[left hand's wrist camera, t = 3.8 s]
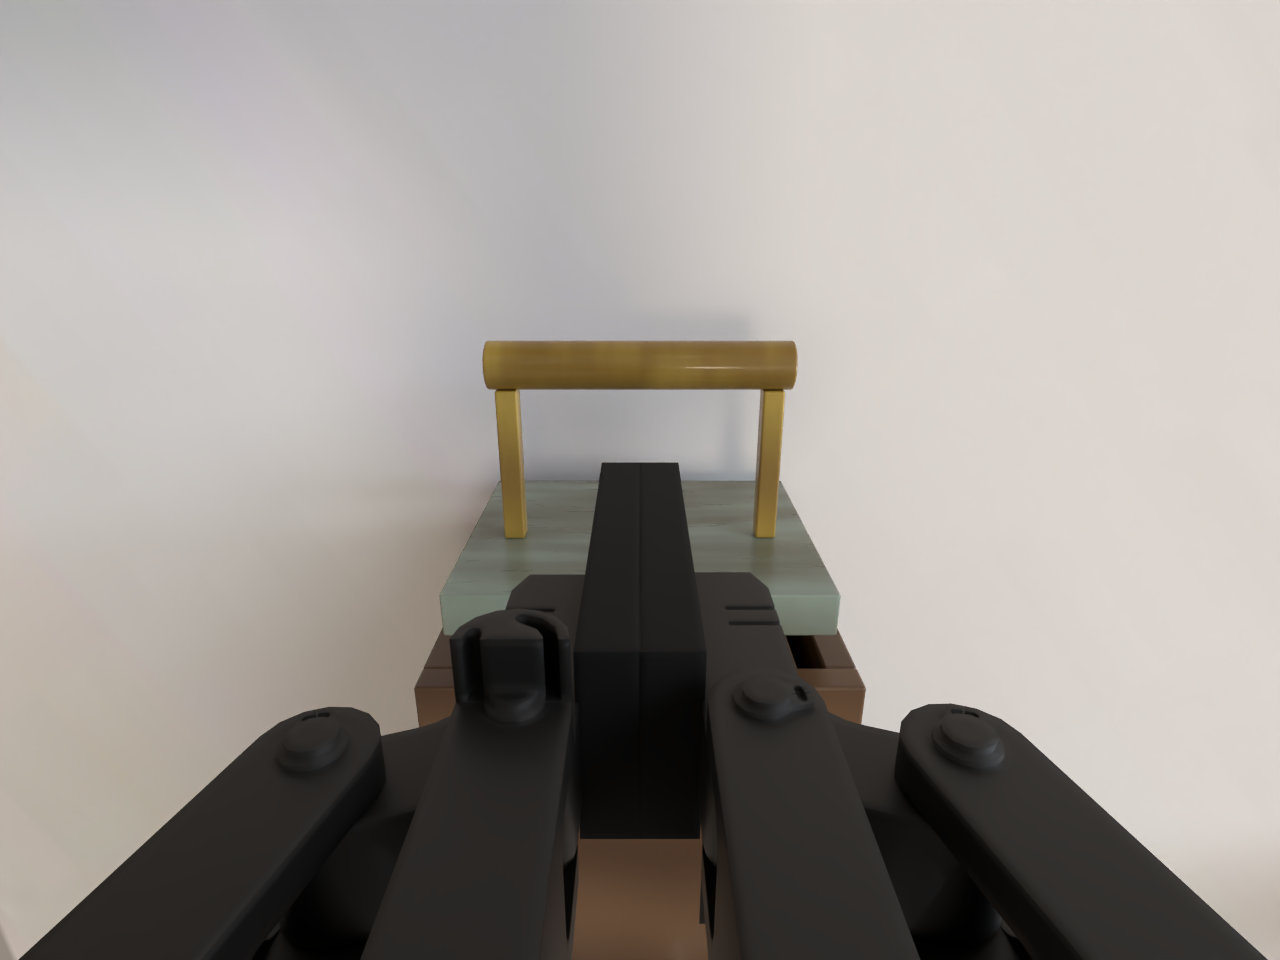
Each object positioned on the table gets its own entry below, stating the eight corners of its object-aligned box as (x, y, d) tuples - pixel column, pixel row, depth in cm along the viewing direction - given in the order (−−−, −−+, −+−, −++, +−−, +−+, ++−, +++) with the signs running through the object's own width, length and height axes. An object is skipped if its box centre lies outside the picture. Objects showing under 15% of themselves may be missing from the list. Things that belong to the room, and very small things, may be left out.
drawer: (487, 317, 24) (414, 368, 16) (792, 317, 24) (866, 368, 16) (527, 881, 33) (492, 1091, 25) (752, 881, 33) (787, 1091, 25)
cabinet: (491, 523, 28) (413, 687, 18) (788, 523, 28) (866, 687, 18) (521, 916, 35) (476, 1183, 25) (758, 916, 35) (803, 1183, 25)
